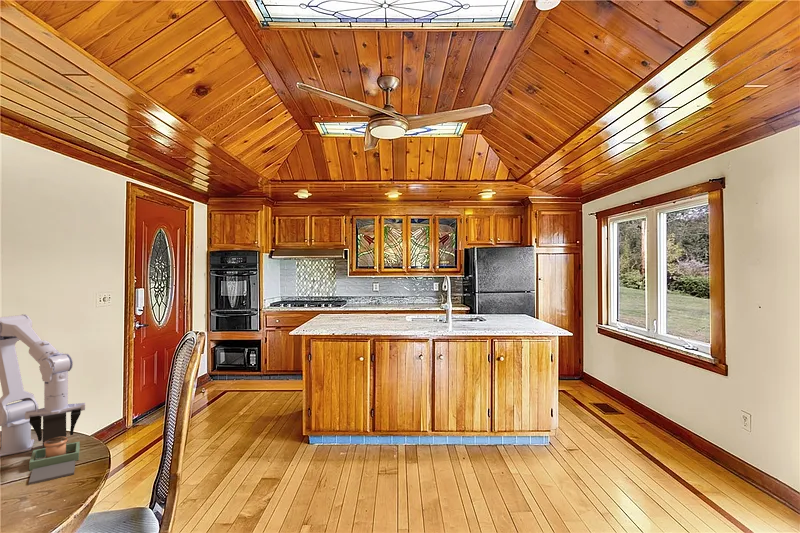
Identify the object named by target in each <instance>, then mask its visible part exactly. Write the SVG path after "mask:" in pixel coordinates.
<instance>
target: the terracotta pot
mask: <svg viewBox="0 0 800 533" xmlns="http://www.w3.org/2000/svg"><path fill="white" fill-rule="evenodd" d="M68 440H69V438H68V437H67V436H66V437H56V438H52V439H49V440H47V441H45V442H44V447H46V454H45V457H44V459H45V458H50V457H55V456H60V455H64V454H67V452H66V444H67V442H69V441H68Z"/></svg>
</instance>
